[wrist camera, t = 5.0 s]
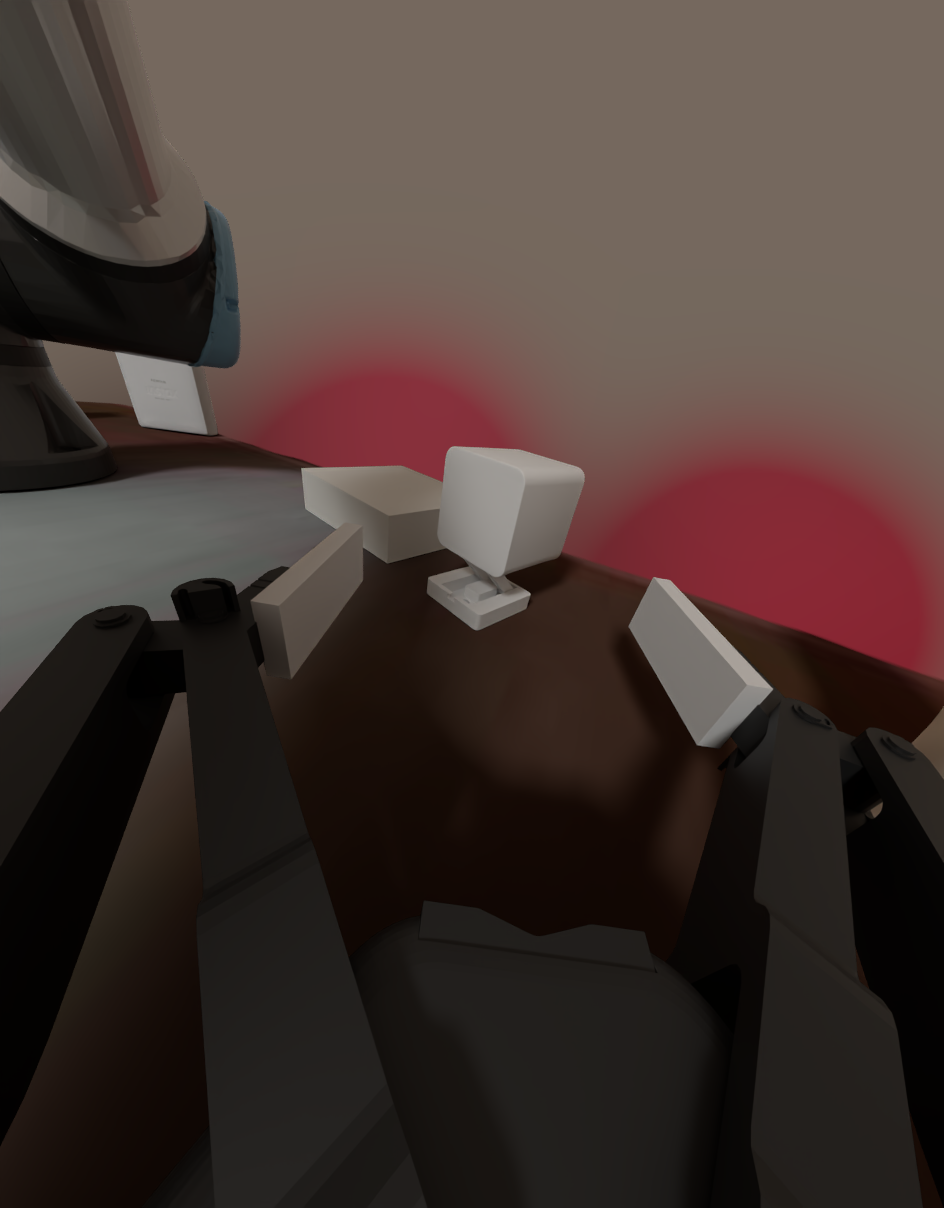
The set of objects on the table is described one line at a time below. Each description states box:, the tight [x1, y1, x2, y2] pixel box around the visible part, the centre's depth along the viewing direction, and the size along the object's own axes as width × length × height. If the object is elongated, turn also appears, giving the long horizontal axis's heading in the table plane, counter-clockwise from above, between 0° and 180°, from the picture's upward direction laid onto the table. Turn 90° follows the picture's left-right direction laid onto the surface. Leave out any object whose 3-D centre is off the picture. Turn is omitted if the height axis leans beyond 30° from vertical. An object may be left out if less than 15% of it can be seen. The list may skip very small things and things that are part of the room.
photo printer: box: [115, 352, 218, 436], centre depth 51 cm, size 10×4×12 cm, turn 99°
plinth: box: [301, 466, 446, 564], centre depth 34 cm, size 14×12×4 cm
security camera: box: [427, 446, 585, 630], centre depth 23 cm, size 6×7×10 cm
